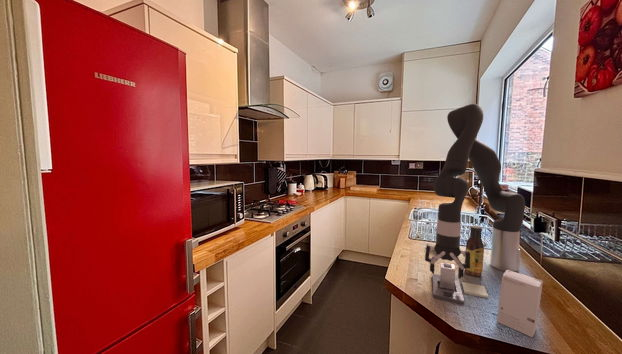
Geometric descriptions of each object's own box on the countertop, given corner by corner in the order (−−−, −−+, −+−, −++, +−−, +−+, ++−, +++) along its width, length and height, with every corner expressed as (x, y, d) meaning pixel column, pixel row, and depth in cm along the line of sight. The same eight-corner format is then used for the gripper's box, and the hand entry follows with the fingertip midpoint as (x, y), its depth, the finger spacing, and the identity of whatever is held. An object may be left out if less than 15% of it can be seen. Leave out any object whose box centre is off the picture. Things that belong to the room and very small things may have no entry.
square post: (453, 287, 89) (454, 264, 88) (454, 293, 85) (455, 269, 84) (439, 284, 91) (440, 261, 90) (440, 291, 87) (441, 266, 86)
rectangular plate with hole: (458, 281, 93) (458, 278, 93) (464, 304, 79) (464, 300, 79) (432, 276, 97) (432, 273, 97) (433, 297, 83) (433, 294, 83)
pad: (483, 288, 89) (483, 286, 89) (488, 298, 82) (488, 296, 82) (461, 283, 92) (461, 281, 92) (464, 293, 85) (464, 291, 85)
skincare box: (496, 322, 71) (499, 274, 69) (502, 313, 74) (505, 268, 73) (535, 339, 64) (539, 286, 63) (539, 329, 68) (543, 279, 66)
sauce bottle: (476, 278, 95) (479, 230, 94) (460, 272, 101) (463, 226, 99) (485, 274, 98) (488, 227, 97) (469, 268, 104) (472, 223, 102)
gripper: (469, 232, 87) (467, 274, 88) (426, 227, 93) (424, 266, 94) (473, 238, 80) (470, 284, 81) (426, 232, 86) (424, 275, 88)
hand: (445, 275), depth 88 cm, fingers open, 8 cm apart
